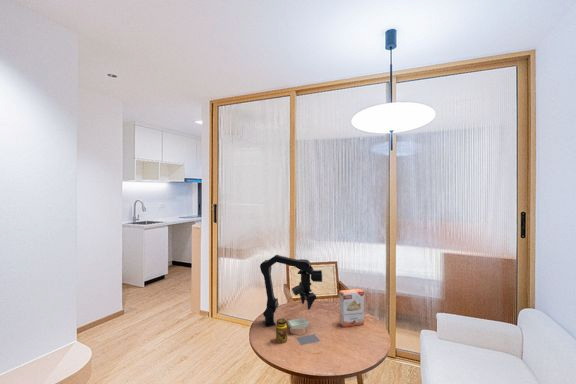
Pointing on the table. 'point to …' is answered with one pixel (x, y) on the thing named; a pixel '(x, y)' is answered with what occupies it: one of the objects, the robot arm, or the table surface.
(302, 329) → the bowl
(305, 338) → the mat
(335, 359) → the table surface
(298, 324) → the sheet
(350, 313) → the cracker box
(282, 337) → the condiment
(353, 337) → the table surface
